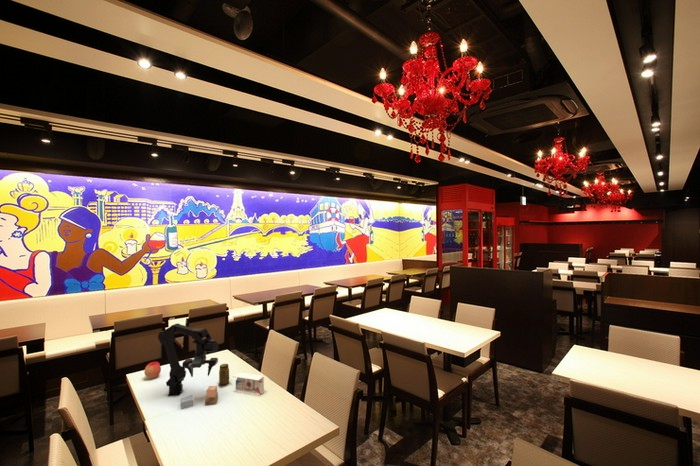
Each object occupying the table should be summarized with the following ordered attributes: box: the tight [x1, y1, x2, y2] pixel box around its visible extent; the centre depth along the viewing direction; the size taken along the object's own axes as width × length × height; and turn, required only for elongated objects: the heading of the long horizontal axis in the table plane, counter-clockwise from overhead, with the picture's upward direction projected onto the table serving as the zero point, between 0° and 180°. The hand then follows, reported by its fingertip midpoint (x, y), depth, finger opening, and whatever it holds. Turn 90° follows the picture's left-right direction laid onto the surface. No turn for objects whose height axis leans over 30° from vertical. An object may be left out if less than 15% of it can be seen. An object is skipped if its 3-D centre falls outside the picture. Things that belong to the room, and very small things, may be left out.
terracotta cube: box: [206, 385, 218, 398], centre depth 179 cm, size 4×4×4 cm
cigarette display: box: [232, 372, 265, 396], centre depth 191 cm, size 20×6×9 cm, turn 73°
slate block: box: [180, 394, 194, 410], centre depth 176 cm, size 6×6×4 cm
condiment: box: [216, 363, 233, 388], centre depth 201 cm, size 7×8×12 cm
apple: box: [143, 361, 162, 380], centre depth 212 cm, size 10×10×10 cm
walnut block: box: [204, 391, 219, 406], centre depth 179 cm, size 6×6×4 cm
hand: (200, 376), depth 186 cm, fingers open, 9 cm apart
